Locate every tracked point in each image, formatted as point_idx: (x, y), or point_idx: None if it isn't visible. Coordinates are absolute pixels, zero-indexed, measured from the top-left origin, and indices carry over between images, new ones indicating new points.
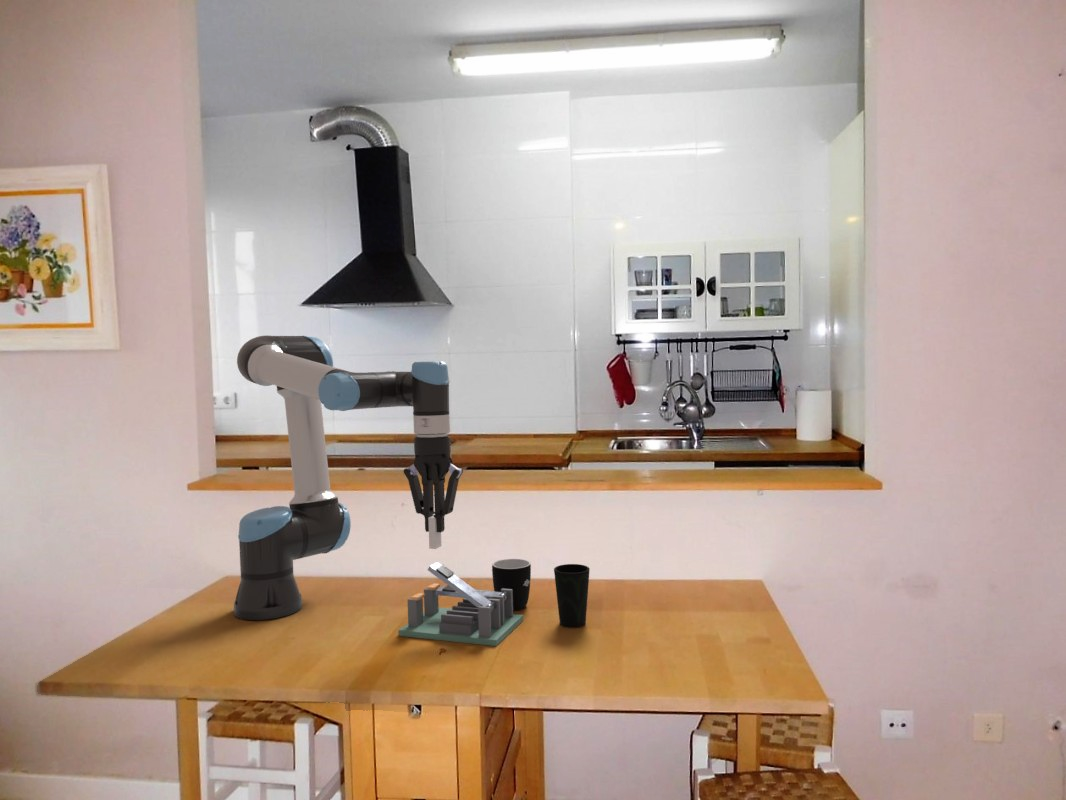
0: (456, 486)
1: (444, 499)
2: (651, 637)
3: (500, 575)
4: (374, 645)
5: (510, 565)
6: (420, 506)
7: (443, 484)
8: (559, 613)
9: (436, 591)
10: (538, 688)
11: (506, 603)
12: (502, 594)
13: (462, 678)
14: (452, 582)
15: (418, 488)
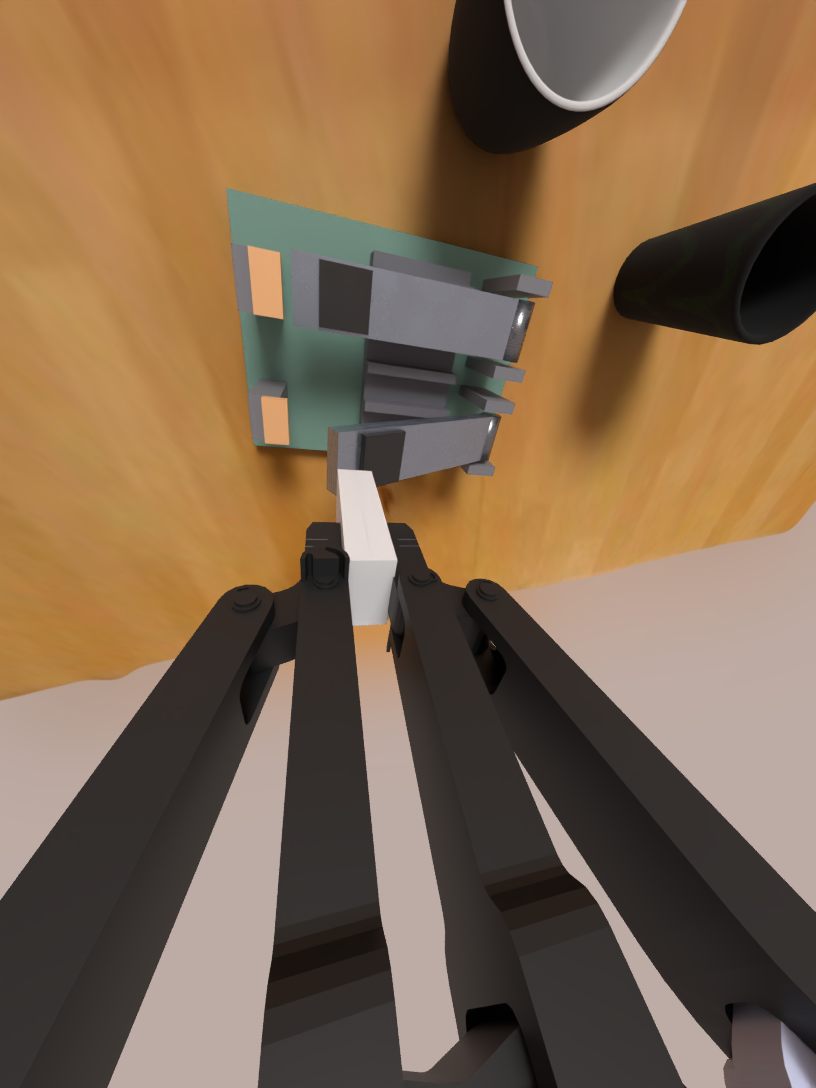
0: (680, 802)
1: (475, 666)
2: (753, 359)
3: (525, 114)
4: (240, 500)
5: None
6: (267, 688)
7: (548, 863)
8: (632, 299)
9: (296, 326)
10: (536, 574)
11: (512, 294)
12: (520, 340)
13: (444, 574)
14: (410, 475)
15: (160, 889)
